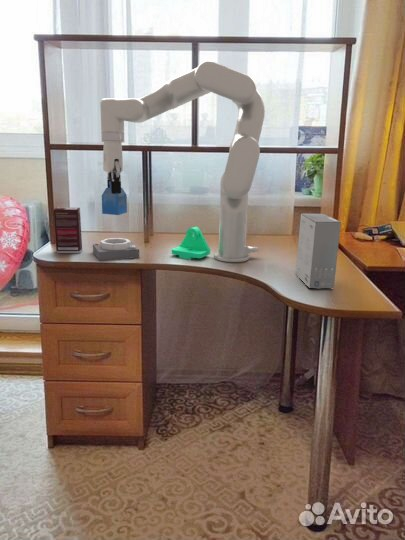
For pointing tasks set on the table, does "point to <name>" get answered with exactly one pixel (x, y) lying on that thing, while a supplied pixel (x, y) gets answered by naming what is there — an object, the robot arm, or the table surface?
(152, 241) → the table surface
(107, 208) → the perfume bottle
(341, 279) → the table surface
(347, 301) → the table surface
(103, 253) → the camera body block
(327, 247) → the hard drive box
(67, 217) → the supplement box
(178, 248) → the camera mount
